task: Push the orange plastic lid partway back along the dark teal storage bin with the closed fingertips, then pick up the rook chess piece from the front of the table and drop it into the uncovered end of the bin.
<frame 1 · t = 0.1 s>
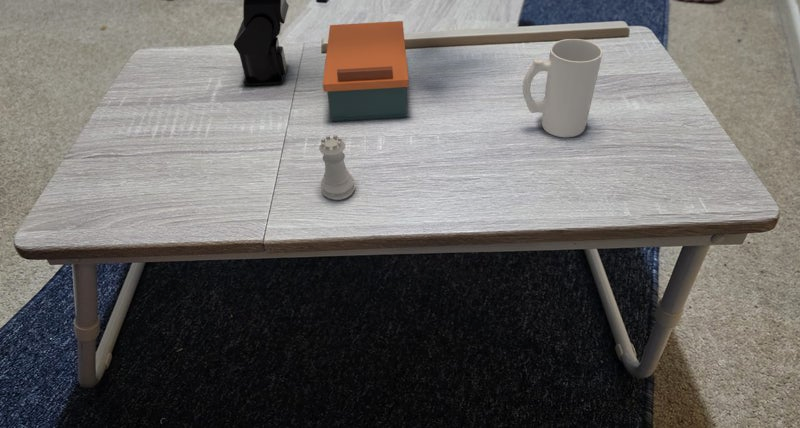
mug: (551, 127, 85), on the table
rook chess piece: (338, 191, 76), on the table
bin: (369, 88, 95), on the table
bin lid: (366, 57, 92), point 6 cm above the table, touching bin
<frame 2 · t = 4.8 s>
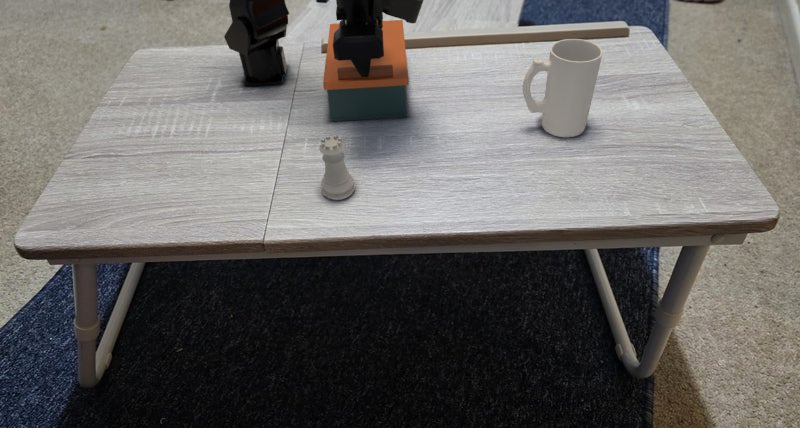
hand: (365, 76, 83), 8 cm above the table, tool pointing down, fingers closed
bin lid: (366, 55, 92), point 6 cm above the table, touching bin, gripper
everything else where it was.
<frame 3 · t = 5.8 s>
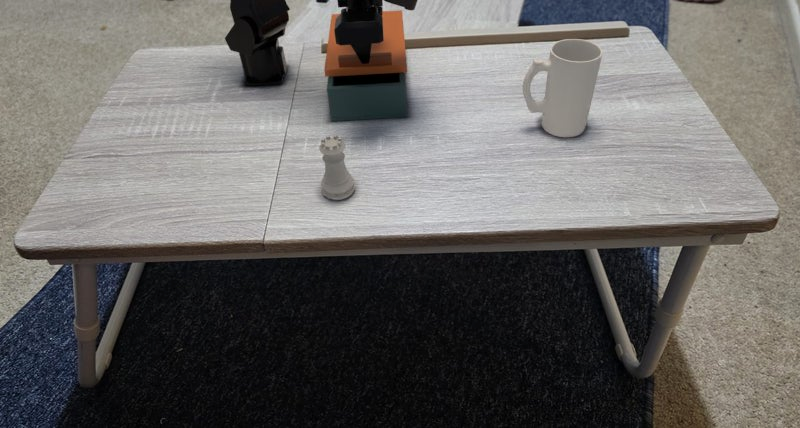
hand: (365, 62, 86), 8 cm above the table, tool pointing down, fingers closed
bin lid: (366, 44, 95), point 6 cm above the table, touching bin
everything else where it was.
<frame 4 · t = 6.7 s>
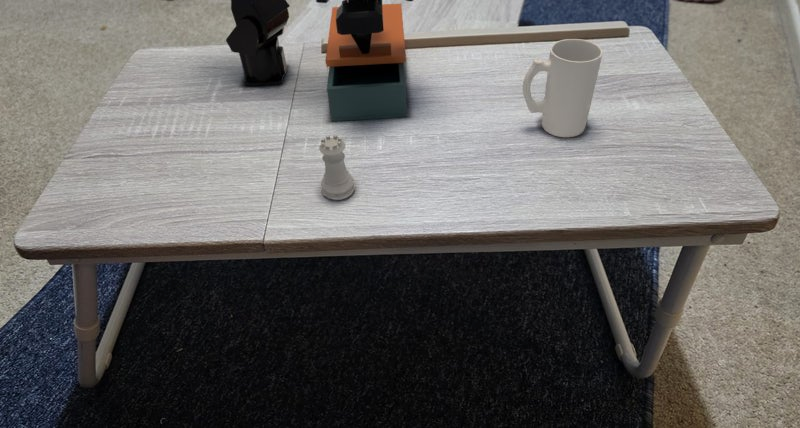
hand: (365, 53, 88), 8 cm above the table, tool pointing down, fingers closed
bin lid: (366, 36, 97), point 6 cm above the table, touching bin, gripper
everything else where it was.
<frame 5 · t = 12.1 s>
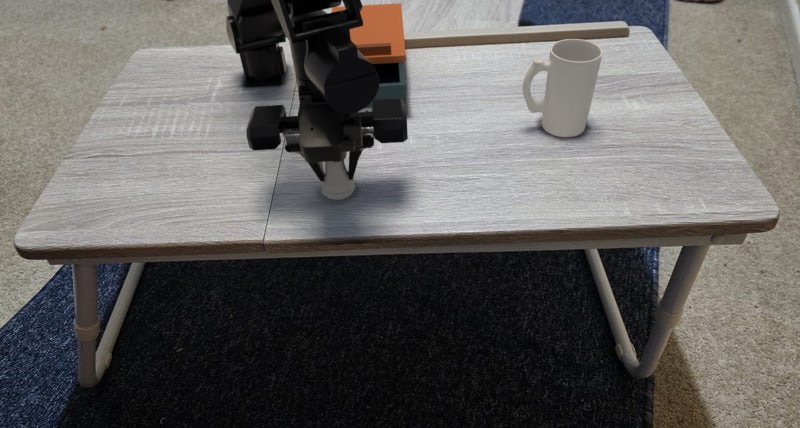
hand: (336, 178, 75), 2 cm above the table, tool pointing down, fingers closed on rook chess piece, 3 cm apart
rook chess piece: (338, 191, 76), on the table, touching gripper
bin lid: (366, 36, 97), point 6 cm above the table, touching bin
everything else where it was.
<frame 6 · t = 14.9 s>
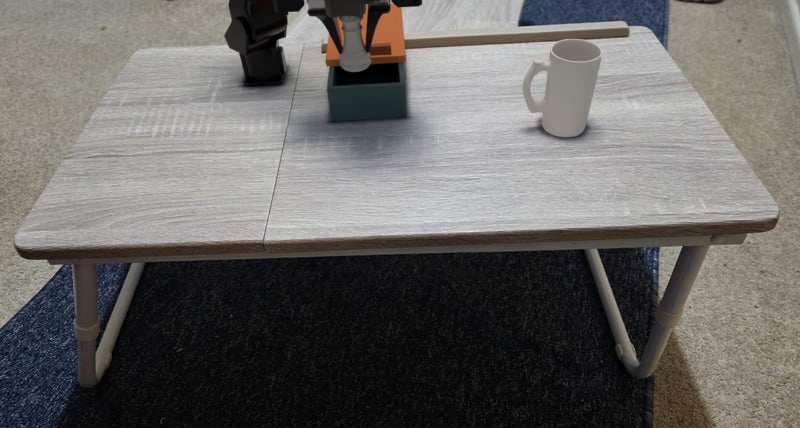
hand: (354, 51, 80), 12 cm above the table, tool pointing down, fingers closed on rook chess piece, 3 cm apart
rook chess piece: (355, 66, 81), point 10 cm above the table, touching gripper
everything else where it was.
when the fingers open (5 cm above the table, at t = 17.6 s): rook chess piece drops 2 cm, point 1 cm above the table.
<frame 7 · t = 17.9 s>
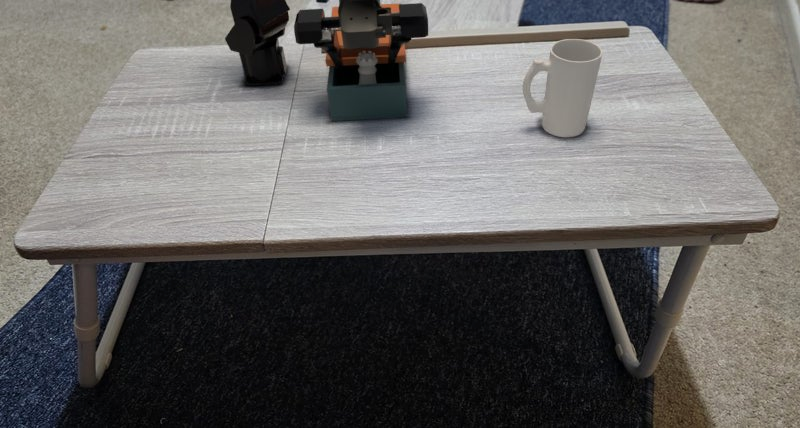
hand: (366, 76, 88), 5 cm above the table, tool pointing down, fingers open, 7 cm apart
rook chess piece: (368, 102, 91), point 1 cm above the table
everything else where it was.
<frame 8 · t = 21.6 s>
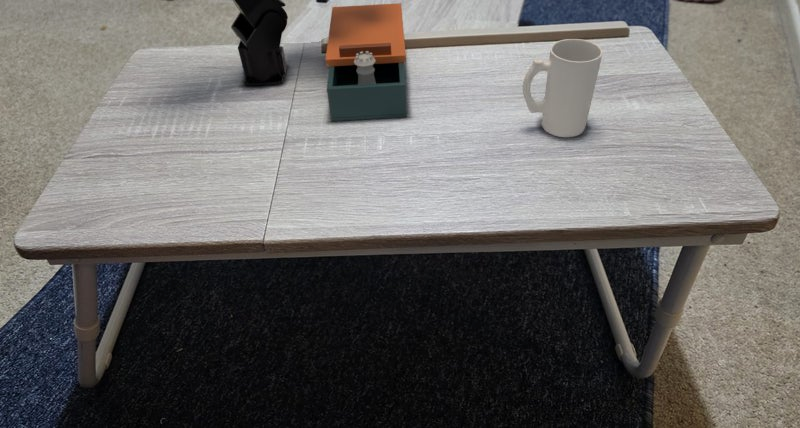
rook chess piece: (368, 102, 91), resting on bin
everything else where it was.
at the end: bin lid 0.2 cm from the target spot on the bin, point 5.6 cm above the bin's base; rook chess piece inside the target area in the bin (5.2 cm from its centre), point 0.4 cm above the bin's base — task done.
